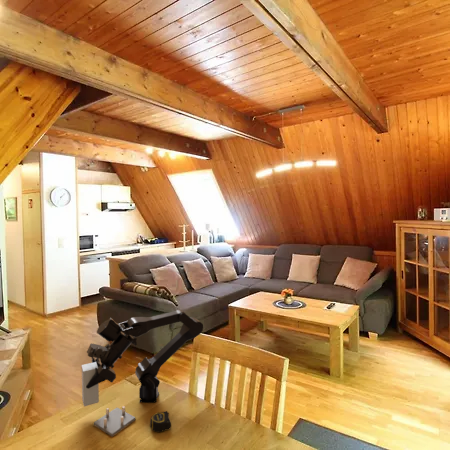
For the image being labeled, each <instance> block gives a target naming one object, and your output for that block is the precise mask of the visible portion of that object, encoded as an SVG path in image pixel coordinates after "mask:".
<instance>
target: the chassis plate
mask: <svg viewBox="0 0 450 450" xmlns="http://www.w3.org/2000/svg"><path fill="white" fill-rule="evenodd" d="M134 421H136V417H135V416H134V415H132V414H130V413H128V412H126V406H123V405H122V408H119V407H116V408H114V409H112V410H110V407H109V408H108V407H107V408H106V409H105V414H104V415H102V416H101V417H100V418H98V419H96V420H94V422H93V426H94V427H95V428H98V429H99V430H101V431H103V432H104V433H105V434H107V435H109V436H110V437H114V436H116V435H117V434H118V433H119V432H121V431H122V430H124V429H125V428H126V427H128V426H129V425H131V424H132V423H133V422H134Z"/></svg>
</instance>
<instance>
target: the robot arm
mask: <svg viewBox="0 0 450 450" xmlns="http://www.w3.org/2000/svg"><path fill="white" fill-rule="evenodd" d="M175 323H176V324H177V323H182V325H181V326H180V330H179V332H178V333H177V334H176V335H175V336H173V337H172V339H170V341H169V342H167V343H166V344H165V345H164V346H163V347H162V348H161V349H160V350H159V351H158V352H157V353H155V355H154V356H152V357H151V358H148V357H147V356H145V357H143V359H142V360H141V361H140V362H139V363H137V366H136V367H135V370H134V371H135V372H134V373H135V376H136V377H137V379H138V382H139V383H140V386H139V391H138V392H139V393H138V396H139V403H142V404H143V403H145V404H146V403H148V404H150V403H151V404H152V403H153V404H154V403H157V401H158V397H159V395H160V392H159V386H160V382H161V381H160V379H159V378H158V374H159V371H160V369H161V367H162V366H163V365H164V364H165V363H166V362H167V361H168V360H170V358H172V356H173V355H174V354H175V353H176V352H177V351H178V350H180V349H181V347H183V346H184V344H186V342H188V341H190V340H194V339H195V338H197V337H198V336H199V335H200V334H202V332H203V331H204V325H203V323H202V322H201V321H200V320H198V319H197V318H196V317H193V316H189V315H187V314H186V313H185V311H183V310H182V309H177V310H174V311H170V312H164V313H161V314H158V315H153V316H148V317H147V316H133V317H131V318H130V317H129V319H128V320H126V321H123V322H120V323H118V322H116V321H115V320H114V319H113V318H112V317H110V318H108V319H106V320H105V321H103V322H101V324H100V325H99V326H98V328H97V330H96V334H97V335H99V336H100V337H101V338H103V339H104V340H106V341H107V342H109V343H107V344H105V346H104V345H101V344H96V343H89V346H88V348H87V350H86V353H87V356H88V357H89V358H91V363H93V362H96V363H97V366H98V369H97V368H95V374H94V376H93V377H92V378H91V380H90V381H89V383H88V384H87V386H86V388H88V389H89V388H91V387H93V386H95V385H97V384H100V383H103V382H105V381H108V382H109V383H113V382H114V381H115V380H116V379H117V374H116V371H115V370H114V369H113V368H114V367H115V363H116V362H117V361H118V360H119V359H120V360H121V359H122V358H123V354H124V352H125V351H126V350H127V349H128V348H129V347H130V345H132V344H133V345H134V346H137V344H138V342H137V340H138V337H141V336H143V335H145V334H147V333H149V332H150V331H151V330H154V329H157V328H160V327H161V328H162V327H165V326H168V325H169V326H170V325H172V324H175Z"/></svg>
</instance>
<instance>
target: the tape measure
mask: <svg viewBox="0 0 450 450" xmlns="http://www.w3.org/2000/svg"><path fill="white" fill-rule="evenodd" d="M149 425H150V426H149V427H150V428H151V430H152V431H154V432H157V433H161V432H164V431H167V430H170V429H171V427H172V421H171V420H170V413H169V412H168V411H165V410H164V411H163V412H161V411H160V412H159V411H158V412H156V413H154V414H153V415H151V418H150V422H149Z"/></svg>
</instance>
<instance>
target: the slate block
mask: <svg viewBox="0 0 450 450" xmlns="http://www.w3.org/2000/svg"><path fill="white" fill-rule="evenodd" d="M95 368H97V369H98V366H97V363H96V362H93V363H92V362H89V363H85V364H81V395H82V396H81V397H82V404H83V405H82V406H83V407H88V406H92V405H96V404H98V403H100V398H99V397H100V395H99V394H100V390H99V387H100V385H99V384H100V383H99V384H97V385H95V386H93V387H91V388H89V389H88V388H86V386H87V384H88V383H89V381H90V380H91V378H92V377H93V376H94V374H95Z"/></svg>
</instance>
